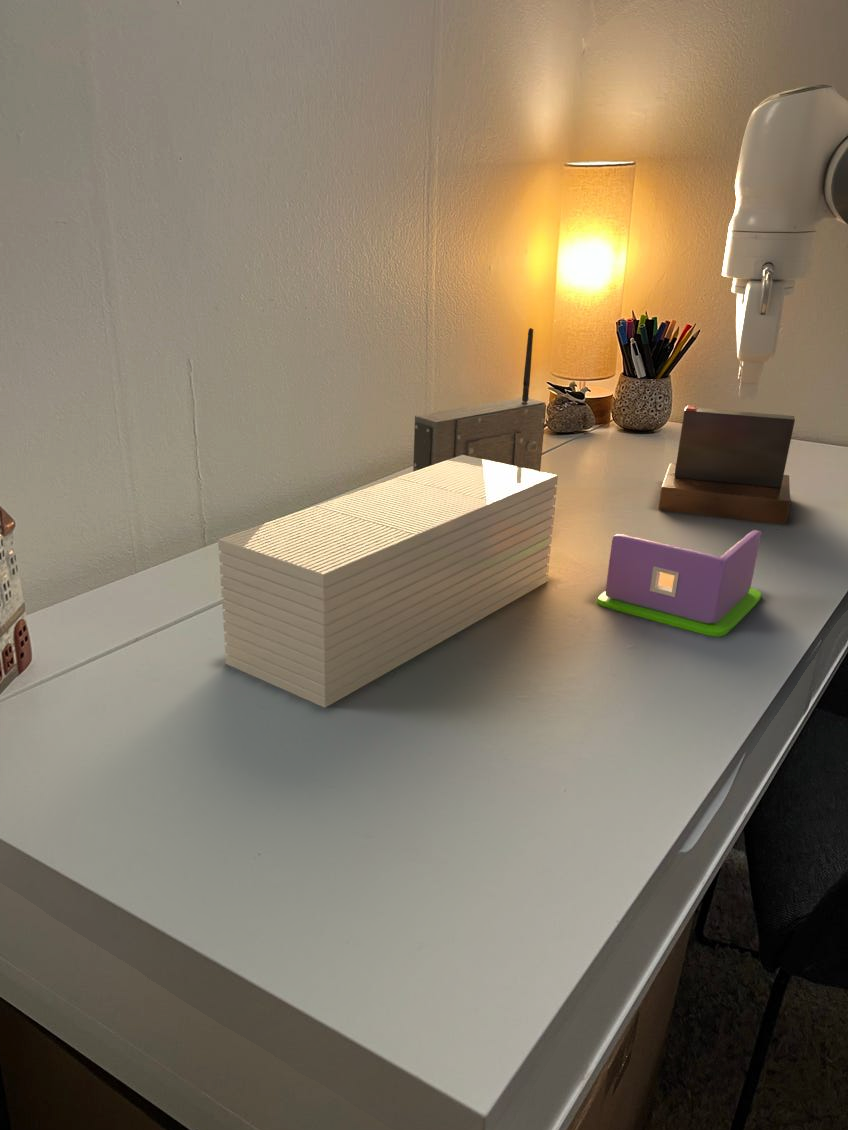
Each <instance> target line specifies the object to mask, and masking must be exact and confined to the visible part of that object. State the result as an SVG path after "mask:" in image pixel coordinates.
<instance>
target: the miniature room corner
mask: <svg viewBox="0 0 848 1130" xmlns="http://www.w3.org/2000/svg"><path fill="white" fill-rule="evenodd" d="M761 537H762V531H760V530H756V529H753V530H752V531H750V532H749V533H747V534H746V535H745V536H744V537H742V539H740V540H739V541H738V542H737V543H735V544H734V545H733V546H731V547H730V548H729V549H728V550H727V551H726V552H725V553H724V554H723V555H721V556H718V555H715V554H710V553H707V552H702V551H698V550H694V549H689V548H686V547H685V548H684V547H679V546H675V545H672V544H666V543H662V542H658V541H654V540H649V539H645V538H640V537H636V536H631V535H626V534H623V533H622V534H621V533H616V534H615V535H613V537H612V539H611V544H610V545H611V546H610V554H609V562H608V568H607V569H608V570H607V575H606V576H607V577H606V583H605V584H606V585H605V591H603V592H602V593H600V595H598V597H597V601H596V603H597V605H599V606H601V607H605V608H608V609H610V610H614V611H619V612H621V613H625V614H629V615H633V616H636V617H640V618H643V619H646V620H650V621H654V622H657V623H661V624H665V625H669V626H672V627H676V628H679V629H683V630H687V631H691V632H695V633H698V634H702V635H703V634H704V635H707V636H710V637H711V636H712V637H723V636H725V635H726V634H728V633H730V631H731V630H733V628H734V627H735V626H737V624H738V623H739V622H741V620H742V619H744V617H746V616H747V614H748V613H749V612H751V610H752V609H753V608H754V607H755V606H756V605H757V604H758V603H759V601H760V600H761V598H762V592H761V590H758V589H755V588H752V587H751V586H752V581H753V577H754V573H755V567H756V562H757V558H758V552H759V549H760V548H759V547H760V542H761Z"/></svg>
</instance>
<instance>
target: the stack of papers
mask: <svg viewBox="0 0 848 1130" xmlns="http://www.w3.org/2000/svg"><path fill="white" fill-rule="evenodd" d="M558 479H559V475H557V474H553V473H548V472H544V471H540V472H539V471H535V470H530V469H526V468H521V467H517V466H512V465H507V464H502V463H498V462H493V461H489V460H484V459H480V458H475V457H470V456H465V455H461V456H458V457H455V458H452V459H449V460H446V461H443V462H440V463H438V464H435V465H432V466H429V467H426V468H423V469H420V470H417V471H414V472H413V471H412V472H409V473H405V474H403V475H400V476H397V477H394V478H392V479H389V480H385V481H383V482H380V483H377V484H374V485H372V486H368V487H366V488H362V489H360V490H356V491H355V492H352V493H351V492H350V493H349V494H345V495H342V496H340V497H336V498H334V499H330V500H329V501H325V502H323V503H320V504H317V505H313V506H311V507H309V508H305V509H303V510H299V511H297V512H294V513H291V514H288V515H285V516H282V517H279V518H277V519H273V520H271V521H268V522H265V523H262V524H260V525H256V526H252V527H251V528H248V529H245V530H242V531H239V532H236V533H233V534H230V535H228V536H225V537H221V538H219V539H217V540H218V541H217V542H218V543H217V544H218V550H219V551H220V552H219V554H218V557H219V558H218V559H219V563H221V564H220V565H219V573H220V575H222V576H220V586H221V587H222V588H221V598H223V599H222V600H221V606H222V609H223V611H222V620H223V621H225V622H223V632H225V633H224V634H223V637H224V643H226V644H225V645H224V653H225V654H226V655H225V664H226V665H228V666H229V667H232V668H234V669H236V670H239V671H241V672H244V673H246V674H248V675H250V676H253V677H254V678H257V679H260V680H261V681H263V682H266V683H268V684H270V685H273V686H275V687H277V688H280V689H282V690H284V691H286V692H289V693H291V694H293V695H294V696H297V697H300V698H302V699H304V700H306V701H308V702H311V703H313V704H316V705H318V706H320V707H323V708H328V707H329V706H331V705H333V704H334V703H336V702H338V701H340V700H341V699H343V698H345V697H346V696H348V695H351V694H352V693H353V692H355V691H357V690H359V689H361V688H363V687H364V686H366V685H368V684H369V683H372V682H373V681H375V680H376V679H378V678H380V677H382V676H384V675H385V674H388V673H389V672H391V671H392V670H394V669H396V668H397V667H399V666H401V665H404V663H406V662H408V661H410V660H412V659H414V658H415V657H417V656H419V655H421V654H422V653H424V652H426V651H428V650H429V649H431V648H433V647H434V646H437V645H438V644H440V643H442V642H443V641H446V640H447V639H449V638H450V637H453V636H454V635H456V634H457V633H459V632H461V631H462V630H465V629H466V628H468V627H470V626H472V625H473V624H476V623H477V622H479V621H480V620H482V619H484V618H485V617H487V616H490V615H491V614H493V613H495V612H497V611H498V610H500V609H502V608H503V607H505V606H506V605H508V604H510V603H513V602H514V601H516V600H517V599H520V598H521V597H523V596H524V595H526V594H529V593H530V592H532V591H534V590H535V589H537V588H538V587H541V586H542V585H544V584H545V583H547V582H548V580H549V579H548V577H549V575H548V573H549V568H550V565H548V564H550V560H551V557H550V554H551V548H552V546H551V545H552V539H553V537H552V535H553V528H554V527H553V525H554V519H555V518H554V515H555V509H556V507H554V506H555V505H556V495H557V486H556V485H558Z"/></svg>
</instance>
